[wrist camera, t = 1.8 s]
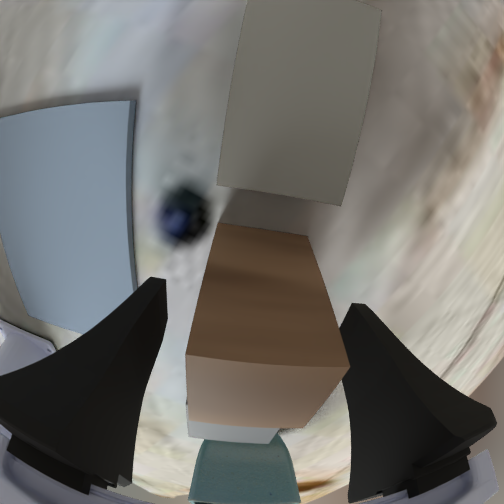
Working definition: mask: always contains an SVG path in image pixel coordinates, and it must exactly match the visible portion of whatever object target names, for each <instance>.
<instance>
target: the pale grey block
mask: <svg viewBox="0 0 504 504" xmlns="http://www.w3.org/2000/svg"><path fill="white" fill-rule="evenodd" d="M381 12H382V10H380V9H377V8H375V7H372V6H370V5H367V4H365V3H362V2H360V1H357V0H247V5H246V9H245V14H244V19H243V24H242V28H241V33H240V38H239V43H238V49H237V54H236V59H235V65H234V70H233V76H232V82H231V88H230V94H229V100H228V106H227V112H226V119H225V126H224V132H223V139H222V147H221V154H220V161H219V169H218V177H217V185H218V186H226V187H233V188H240V189H247V190H253V191H260V192H266V193H272V194H278V195H284V196H290V197H295V198H301V199H306V200H312V201H317V202H322V203H327V204H332V205H337V206H341V205H342V202H343V198H344V195H345V191H346V188H347V184H348V180H349V177H350V173H351V169H352V166H353V162H354V158H355V154H356V150H357V146H358V142H359V138H360V133H361V129H362V125H363V120H364V116H365V111H366V106H367V101H368V96H369V91H370V86H371V81H372V75H373V70H374V64H375V57H376V51H377V44H378V37H379V30H380V21H381Z"/></svg>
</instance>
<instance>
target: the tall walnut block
mask: <svg viewBox="0 0 504 504" xmlns="http://www.w3.org/2000/svg"><path fill="white" fill-rule="evenodd" d="M185 358H186V384H187V402H188V416H189V420H190V421H196V422H203V423H211V424H219V425H229V426H241V427H256V428H303V427H304V426H305V425H306V424H307V423H308V422H309V420H310V419H311V418H312V417H313V416H314V414H315V413H316V412H317V411H318V410H319V408H320V407H321V406H322V405H323V403H324V402H325V401H326V399H327V398H328V397H329V396H330V394H331V393H332V392H333V390H334V389H335V388H336V386H337V385H338V384H339V382H340V381H341V379H342V378H343V377H344V375H345V374H346V372H347V371H348V370H349V368H350V364H349V361H348V357H347V354H346V350H345V347H344V343H343V340H342V337H341V334H340V330H339V327H338V324H337V321H336V317H335V314H334V311H333V308H332V305H331V302H330V299H329V296H328V293H327V290H326V287H325V284H324V281H323V278H322V275H321V272H320V270H319V267H318V264H317V261H316V258H315V255H314V253H313V250H312V247H311V244H310V242H309V239H308V236H303V235H297V234H291V233H284V232H278V231H271V230H265V229H258V228H251V227H244V226H237V225H230V224H223V223H218V224H217V228H216V231H215V235H214V239H213V243H212V246H211V250H210V254H209V258H208V261H207V265H206V269H205V273H204V277H203V281H202V285H201V289H200V293H199V297H198V301H197V306H196V310H195V314H194V318H193V323H192V327H191V331H190V336H189V340H188V345H187V349H186V354H185Z"/></svg>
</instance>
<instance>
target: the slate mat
mask: <svg viewBox="0 0 504 504" xmlns="http://www.w3.org/2000/svg"><path fill="white" fill-rule="evenodd" d="M135 106H136V101H108V102H94V103H83V104H73V105H65V106H58V107H51V108H45V109H40V110H34V111H29V112H24V113H20V114H15V115H11V116H7V117H3V118H0V234H1V238H2V242H3V246H4V249H5V253H6V256H7V260H8V263H9V266H10V269H11V272H12V275H13V278H14V281H15V283H16V286H17V289H18V291H19V294H20V296H21V299H22V301H23V304H24V306H25V308H26V311H27V313H28V315H29V316H31V317H34V318H36V319H39V320H42V321H44V322H47V323H50V324H53V325H56V326H59V327H62V328H65V329H68V330H71V331H74V332H77V333H80V334H85V333H86V332H87V331H89V330H90V329H91V328H93V327H94V326H95V325H97V324H98V323H99V322H100V321H101V320H103V319H104V318H105V317H106V316H108V315H109V314H110V313H111V312H112V311H114V310H115V309H116V308H117V307H118V306H119V305H120V304H121V303H122V302H124V301H125V300H126V299H127V298H128V297H129V296H130V295H131V294H132V293H133V292H134V291H136V290H137V281H136V272H135V260H134V247H133V230H132V198H131V178H132V146H133V129H134V117H135Z"/></svg>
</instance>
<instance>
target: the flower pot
mask: <svg viewBox="0 0 504 504" xmlns="http://www.w3.org/2000/svg"><path fill="white" fill-rule="evenodd" d="M188 501H189V502H190V503H191V504H299V503H301V500H300V496H299V491H298V486H297V482H296V477H295V472H294V468H293V463H292V460H291V457H290V454H289V451H288V449H287V447H286V445H285V443H284V442H283V440H282V439H281V437H280V436H279V435H278V433H276V434H275V436H274V437H273V439H272V440H271V441H270V443H269V444H258V443H239V442H226V441H216V440H208V439H204V441H203V443H202V445H201V448H200V450H199V453H198V457H197V460H196V464H195V469H194V474H193V478H192V483H191V488H190V492H189V497H188Z"/></svg>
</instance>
